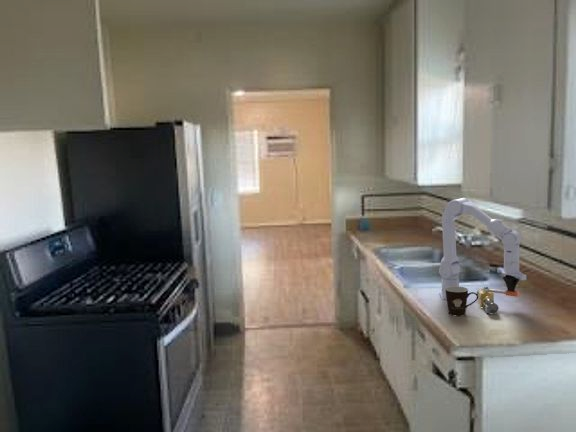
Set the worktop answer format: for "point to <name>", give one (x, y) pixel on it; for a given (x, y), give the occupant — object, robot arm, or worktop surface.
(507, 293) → the valve lever
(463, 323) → the worktop surface
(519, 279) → the robot arm
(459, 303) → the coffee mug
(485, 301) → the pipe valve
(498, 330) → the worktop surface
